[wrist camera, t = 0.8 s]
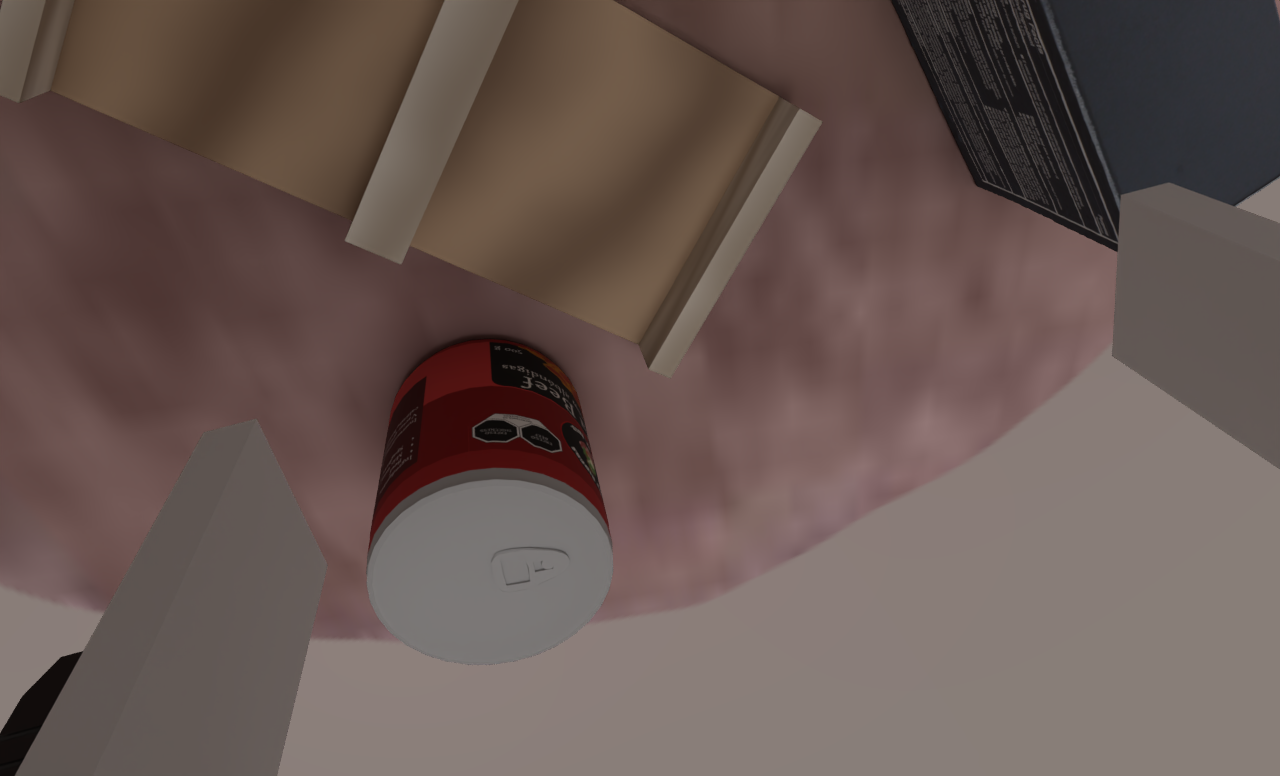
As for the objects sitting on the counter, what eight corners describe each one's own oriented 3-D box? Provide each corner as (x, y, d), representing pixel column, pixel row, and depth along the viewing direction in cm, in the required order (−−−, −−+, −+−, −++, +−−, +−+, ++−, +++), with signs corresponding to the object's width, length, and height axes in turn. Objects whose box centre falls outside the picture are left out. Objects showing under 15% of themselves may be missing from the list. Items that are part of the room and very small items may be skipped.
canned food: (606, 444, 40) (649, 609, 30) (445, 515, 40) (438, 701, 31) (533, 300, 36) (556, 438, 27) (356, 380, 37) (315, 544, 27)
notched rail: (32, 70, 30) (-19, 87, 27) (124, -284, 26) (77, -312, 23) (654, 341, 38) (670, 378, 35) (791, 103, 34) (822, 121, 31)
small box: (1114, 98, 37) (1330, 158, 27) (975, 191, 37) (1139, 279, 28) (1024, -155, 32) (1252, -186, 22) (867, -41, 32) (1023, -25, 23)
